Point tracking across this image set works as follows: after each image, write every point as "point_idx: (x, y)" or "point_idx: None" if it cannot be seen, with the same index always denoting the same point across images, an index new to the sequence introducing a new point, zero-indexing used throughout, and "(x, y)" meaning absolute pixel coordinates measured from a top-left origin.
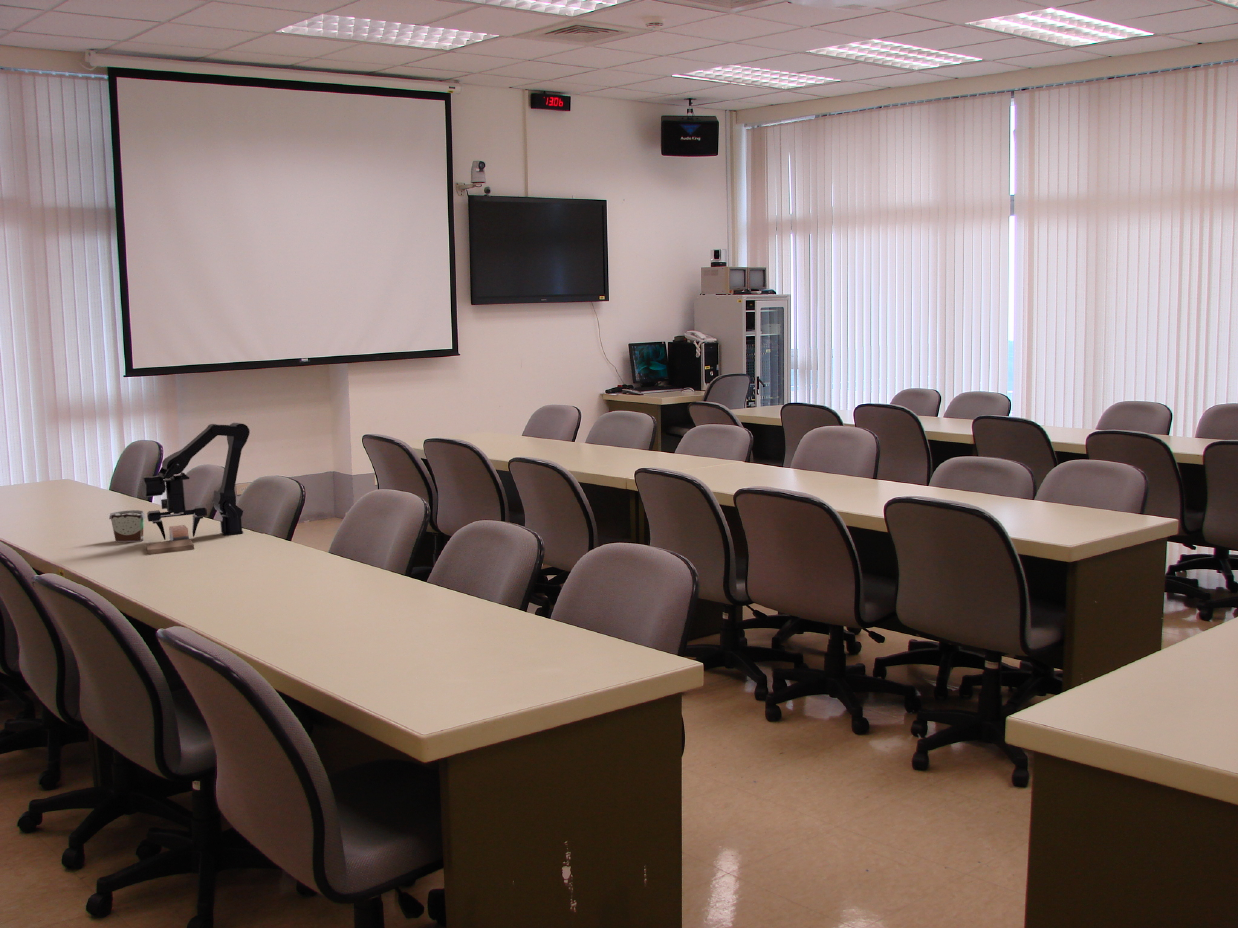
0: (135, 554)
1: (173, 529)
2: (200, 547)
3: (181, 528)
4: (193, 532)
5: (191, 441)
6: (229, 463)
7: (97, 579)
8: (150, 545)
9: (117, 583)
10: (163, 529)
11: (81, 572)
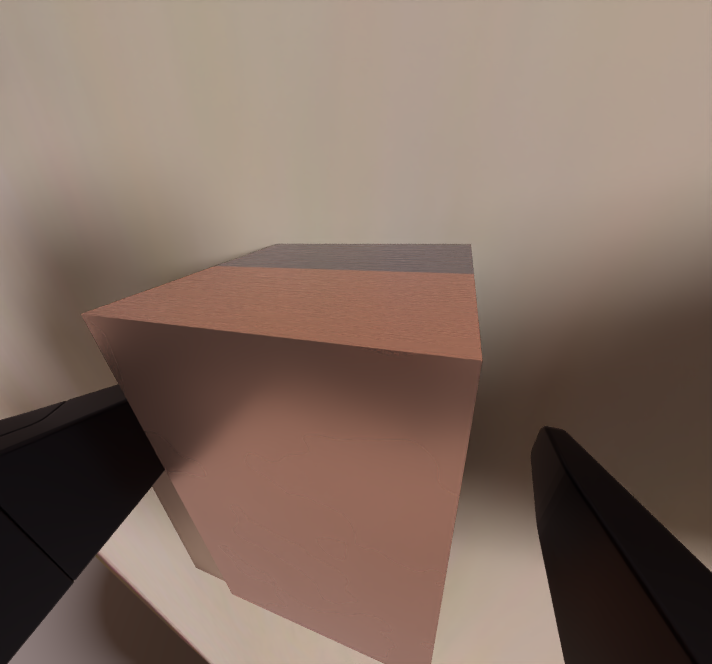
0: (160, 503)
1: (236, 571)
2: (460, 634)
3: (339, 615)
4: (547, 537)
5: None
6: None
7: (168, 617)
8: (177, 506)
9: (215, 658)
10: (118, 521)
11: (106, 555)
